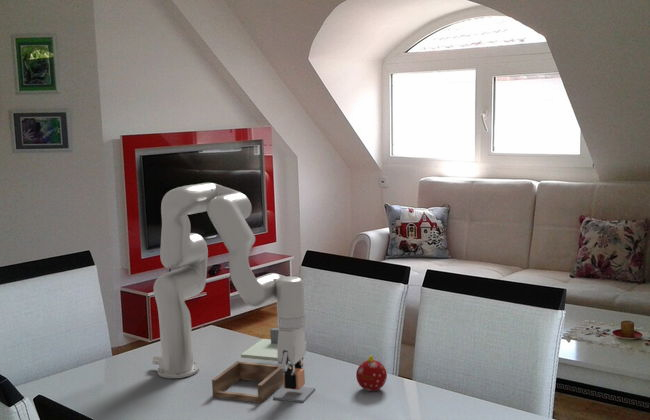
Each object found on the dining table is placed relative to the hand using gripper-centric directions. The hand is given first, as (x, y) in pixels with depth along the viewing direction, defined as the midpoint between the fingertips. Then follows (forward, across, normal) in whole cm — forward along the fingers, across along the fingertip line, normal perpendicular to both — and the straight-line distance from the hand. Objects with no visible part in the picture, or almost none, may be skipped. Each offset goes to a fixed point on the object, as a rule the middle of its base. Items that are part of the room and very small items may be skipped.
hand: (294, 384), depth 200 cm
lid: (-2, -18, -14) cm, 23 cm away
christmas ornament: (+3, -9, +20) cm, 22 cm away
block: (+1, 0, 0) cm, 1 cm away
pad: (+3, 0, 0) cm, 3 cm away
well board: (+3, 0, -14) cm, 14 cm away
